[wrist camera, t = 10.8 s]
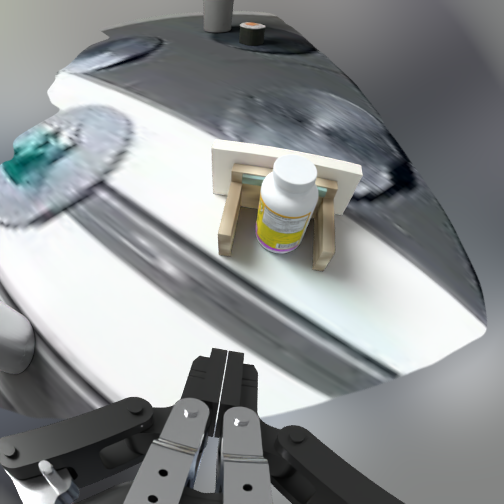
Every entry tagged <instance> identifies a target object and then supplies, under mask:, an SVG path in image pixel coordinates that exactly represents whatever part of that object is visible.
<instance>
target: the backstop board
mask: <svg viewBox="0 0 504 504" xmlns="http://www.w3.org/2000/svg"><path fill="white" fill-rule="evenodd" d="M211 149H212V177H213V194H220V195H227V196H228V192H229V188H230V184H231V172H232V167H233V164H234V163H235V164H243V165H249V166H256V167H263V168H269V169H273V167H274V163H275V161H276V160H277V159H278V158H279V157H281V156H283V155H288V154H294V155H299V156H302V157H305V158H307V159H308V160H310V161H311V162H312V163H313V164H314V165H315V167H316V169H317V177H318V178H323V179H328V180H333V181H337V184H338V190H337V193H336V195H335V197H334V214H338V215H342V214H343V212H344V211H345V209H346V207H347V205H348V203H349V201H350V199H351V197H352V195H353V193H354V191H355V189H356V187H357V185H358V183H359V181H360V180H361V178H362V176H363V175H362V169H361V165H358V164H353V163H349V162H345V161H341V160H337V159H332V158H328V157H323V156H318V155H313V154H308V153H303V152H298V151H293V150H287V149H282V148H276V147H270V146H263V145H257V144H250V143H242V142H235V141H226V140H218V139H215V141H214V143H213V146H212V148H211Z"/></svg>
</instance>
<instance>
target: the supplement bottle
mask: <svg viewBox="0 0 504 504" xmlns="http://www.w3.org/2000/svg"><path fill="white" fill-rule="evenodd" d="M316 178H317V169H316V167H315V165H314V164H313V163H312V162H311V161H310V160H308V159H307V158H305V157H302V156H299V155H294V154H288V155H283V156H281V157H279V158H278V159H277V160H276V161H275V163H274V167H273V171H272V172H271V173H270V174H268V175H267V176H266V177H265V179H264V180H263V183H262V186H261V192H260V199H259V206H258V213H257V220H256V228H255V233H256V237H257V240H258V242H259V243H260V244H261V245H262V246H263V247H264V248H265V249H267V250H269V251H271V252H274V253H288V252H291V251H293V250H294V249H296V248H297V247H298V246H299V245H300V243H301V241H302V239H303V236H304V234H305V231H306V229H307V226H308V224H309V221H310V219H311V216H312V214H313V211H314V209H315V206H316V204H317V201H318V196H319V195H318V188H317V186H316V184H315V181H316Z"/></svg>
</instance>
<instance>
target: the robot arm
mask: <svg viewBox="0 0 504 504" xmlns="http://www.w3.org/2000/svg"><path fill="white" fill-rule="evenodd" d="M34 347H35V339H34V332H33V328H32V326H31V324H30V322H29V320H28V319H27V318H26V317H25V316H24V315H22V314H20V313H19V312H17V311H16V310H14V309H13V308H11V307H9V306H8V305H7V304H5V303H3V302H2V301H0V371H3V372H7V373H10V374H18V373H21V372H22V371H24V370H25V369H26V368H27V367H28V365H29V363H30V362H31V360H32V356H33V353H34ZM226 357H227V350H222V349H216V348H212V352H211V355H210V358H208V357H203V356H199V357H198V358H197V359H195V360H194V361H193V363H192V366H191V370H190V372H189V376H188V378H187V381H186V384H185V388H184V391H183V394H182V397H181V399H180V400H179V401H177V402H176V403H175V405H173V406H170V407H166V408H152V406H151V404H150V403H149V402H148V401H146V400H144V399H142V398H139V397H129V398H125V399H123V400H120V401H118V402H115V403H112V404H110V405H107V406H104V407H102V408H99V409H96V410H93V411H90V412H87V413H85V414H82V415H79V416H76V417H73V418H70V419H67V420H63V421H60V422H57V423H54V424H50V425H47V426H44V427H40V428H37V429H33V430H30V431H26V432H22V433H18V434H14V435H10V436H6V437H3V438H1V439H0V464H1V465H2V466H3V467H4V469H5V470H6V472H7V473H8V474H9V476H10V477H11V478H12V479H13V481H14V484H15V486H16V488H17V490H18V493H19V495H20V497H21V499H22V501H23V503H24V504H71V503H73V502H75V501H76V500H77V499H78V497H79V488H82V487H85V486H87V485H90V484H93V483H95V482H98V481H100V480H103V479H104V478H107V477H110V476H112V475H114V474H117V473H119V472H121V471H123V470H125V469H128V468H130V467H132V466H134V465H136V464H138V463H140V462H142V461H143V462H142V465H141V467H140V469H139V471H138V473H137V475H136V477H135V480H134V481H128V482H123V483H121V484H118V485H115V486H113V487H111V488H109V489H107V490H105V491H103V492H101V493H98V494H96V495H94V496H92V497H89V498H87V499H84V500H82V501H80V502H77V503H75V504H273V500H272V491H271V484H272V485H273V486H274V487H275V488H276V489H277V490H278V491H279V492H280V493H281V494H282V495H283V496H285V497H286V498H287V499H288V500H289V501H290V502H291V503H292V504H404V503H403V502H402V501H400V500H399V499H397V498H396V497H394V496H393V495H391V494H390V493H388V492H387V491H385V490H384V489H382V488H381V487H379V486H378V485H377V484H375V483H374V482H372V481H371V480H369V479H368V478H367V477H366V476H364V475H363V474H362V473H360V472H359V471H357V470H356V469H355V468H354V467H352V466H351V465H350V464H348V463H347V462H346V461H344V460H343V459H342V458H341V457H339V456H338V455H337V454H336V453H334V452H333V451H332V450H331V449H329V448H328V447H327V446H326V445H325V444H323V443H322V442H321V441H320V440H319V439H317V438H316V437H315V436H314V435H313V434H311V433H310V432H309V431H308V430H307V429H305V428H303V427H300V426H295V425H291V426H286V427H284V428H282V429H281V430H280V429H277V428H274V427H271V426H269V425H267V424H265V423H264V422H263V421H262V420H261V419H260V418H259V416H258V413H257V394H258V388H257V387H258V372H257V370H256V369H255V367H254V365H249V364H243V360H244V353H240V352H234V351H229V353H228V359H227V365H226V371H225V377H224V383H223V389H222V395H221V401H220V407H219V413H218V419H217V425H216V431H215V437H217V438H219V443H218V449H217V459H216V485H215V493H201V492H199V491H196V490H194V484H195V480H196V477H197V473H198V470H199V467H200V463H201V460H202V457H203V453H204V449H205V447H206V445H207V440H208V436H211V437H213V433H214V427H215V422H216V416H217V410H218V404H219V398H220V392H221V387H222V381H223V375H224V369H225V363H226Z"/></svg>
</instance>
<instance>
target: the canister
mask: <svg viewBox="0 0 504 504" xmlns="http://www.w3.org/2000/svg"><path fill="white" fill-rule="evenodd" d="M233 2H234V0H203V6H204V7H203V9H204V30H205V31H206V32H212V33H220V32H227V31H229V30H231V23H232V12H233Z"/></svg>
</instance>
